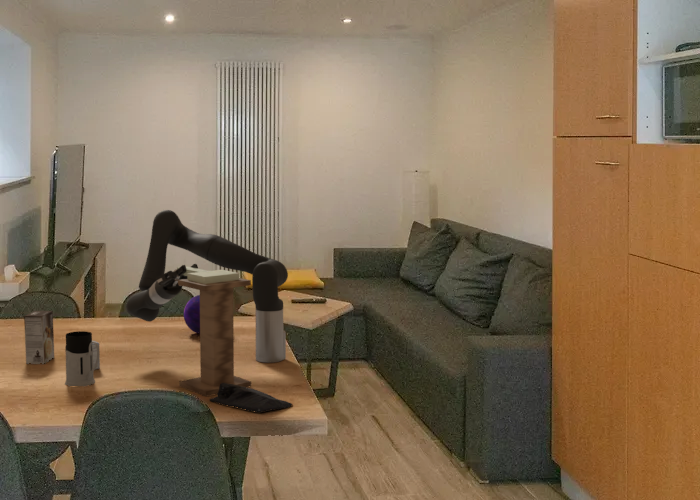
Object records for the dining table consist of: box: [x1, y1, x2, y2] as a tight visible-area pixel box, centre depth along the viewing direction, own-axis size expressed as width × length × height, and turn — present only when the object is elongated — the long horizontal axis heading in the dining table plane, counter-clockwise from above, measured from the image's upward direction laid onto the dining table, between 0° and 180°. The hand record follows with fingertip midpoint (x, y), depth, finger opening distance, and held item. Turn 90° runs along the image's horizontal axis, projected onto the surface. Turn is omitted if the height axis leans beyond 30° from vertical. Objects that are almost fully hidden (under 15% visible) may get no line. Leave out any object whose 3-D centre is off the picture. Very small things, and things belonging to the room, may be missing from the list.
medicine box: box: [92, 340, 101, 370], centre depth 279 cm, size 8×4×9 cm, turn 130°
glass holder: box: [64, 330, 100, 387], centre depth 262 cm, size 9×14×15 cm, turn 51°
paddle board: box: [176, 265, 240, 284], centre depth 263 cm, size 12×22×2 cm, turn 43°
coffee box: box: [23, 310, 55, 365], centre depth 289 cm, size 9×6×16 cm
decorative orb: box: [183, 294, 200, 335], centre depth 332 cm, size 15×15×15 cm
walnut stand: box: [178, 277, 252, 397], centre depth 260 cm, size 16×14×32 cm
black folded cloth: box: [209, 383, 293, 413], centre depth 245 cm, size 15×22×5 cm
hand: (190, 267), depth 267 cm, fingers closed on paddle board, 3 cm apart
